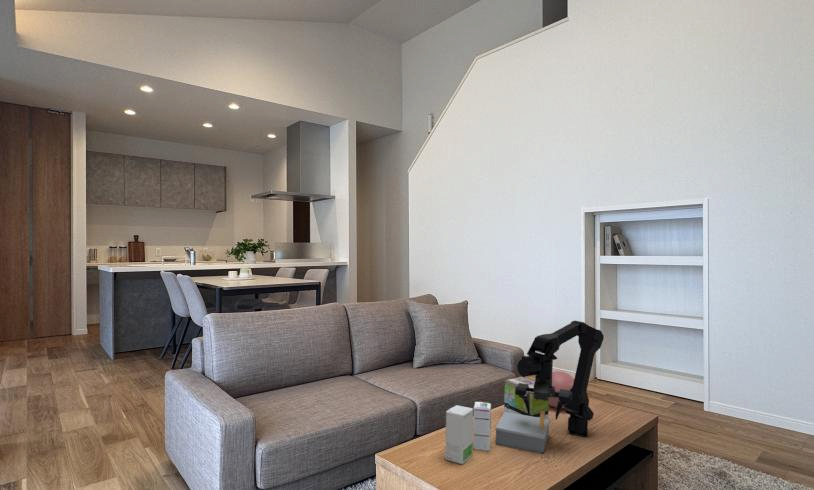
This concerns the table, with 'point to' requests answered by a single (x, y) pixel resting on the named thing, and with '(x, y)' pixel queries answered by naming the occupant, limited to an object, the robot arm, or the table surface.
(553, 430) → the table surface
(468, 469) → the table surface
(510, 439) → the grey flat block
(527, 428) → the lid
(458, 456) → the skincare box
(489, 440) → the syrup box
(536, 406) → the tea box
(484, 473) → the table surface
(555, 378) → the balloon
